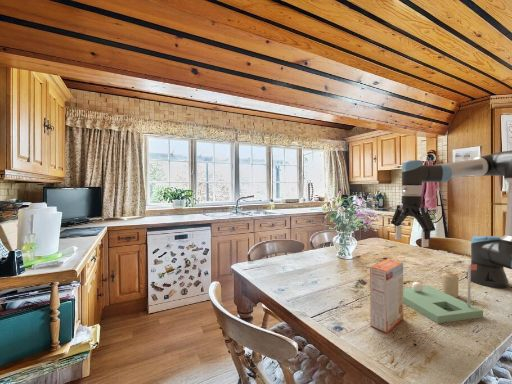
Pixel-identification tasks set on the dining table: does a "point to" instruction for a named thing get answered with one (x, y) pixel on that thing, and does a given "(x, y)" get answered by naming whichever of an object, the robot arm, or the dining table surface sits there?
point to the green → (441, 303)
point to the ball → (417, 286)
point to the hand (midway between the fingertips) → (410, 243)
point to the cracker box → (386, 294)
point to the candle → (450, 284)
